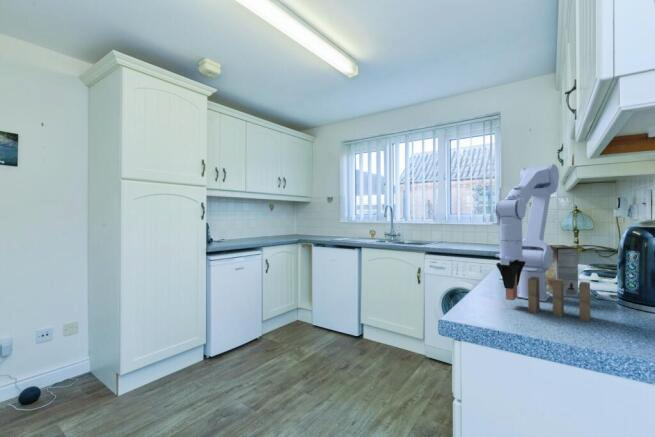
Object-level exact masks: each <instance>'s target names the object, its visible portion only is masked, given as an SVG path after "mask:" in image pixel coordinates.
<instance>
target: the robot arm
mask: <svg viewBox="0 0 655 437" xmlns="http://www.w3.org/2000/svg"><path fill="white" fill-rule="evenodd" d="M559 180H560V172H559V168H558V165H556V164H555V163H552V164H548V165H540V166H539V165H538V166H533V167H523V168H522V169H521V170H520V173H519V184H518V185H514V186H513V187H512V188H511V190H510V191H509V193H508V194H507V195H506V197H505V198H504V200H503V199H502V200H500V201H498V202H497V203H496V205H495V209H494V211H495V216H496V219H497V221H496V222H497V225H498V226H499V253H497V254H495V257H496V258H499V259H500V262H497V263H496V268H497V269H498V271H499V273H500V276H501V279H502V283H503V286H504V288H505V289H506V288H509V289H513V288H514V285H515V278H516V273H517V287H518V288H519V289H518V291H519V292H518V293H517V298H519V299H525V300H528V279H529V278H531V277H539V292H540V302H546V301H547V300H548V299H549V298H550V297H551V294H550V293H547V291H546V271H548V270H549V269H550V268H551V266H552V249H551V247H550V246H549V245H550V244H547V242H545V241H544V237H545V233H546V232H545V231H546V224H547V218H548V212H549V206H550V200H551V195H553V194H555V193H556V192H557V190H558V187H559ZM531 198H532V199H531ZM530 200H531V206H530V210H529V216H528V222H527V227H526V234H525V238H524V239H523V219H524V218H525V217H526V214H527V213H526V211H527V204H528V203H529V201H530ZM517 298H516V299H517Z"/></svg>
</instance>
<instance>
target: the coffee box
mask: <svg viewBox="0 0 655 437" xmlns="http://www.w3.org/2000/svg"><path fill="white" fill-rule="evenodd" d="M548 245H549V246H550V247H551V249H552V266H551V268H550V269H549V270H548V271H546V292H549V294H550V293H551V295H553V288H552V282H553V281H554V280H555V279H561V280H563V285H564V297H570V298H571V297H573V298H575V297H576V298H578V297H579V258H578V257H579V253H578V252H579V248H578V247H575V246H569V245H565V244H548Z"/></svg>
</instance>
